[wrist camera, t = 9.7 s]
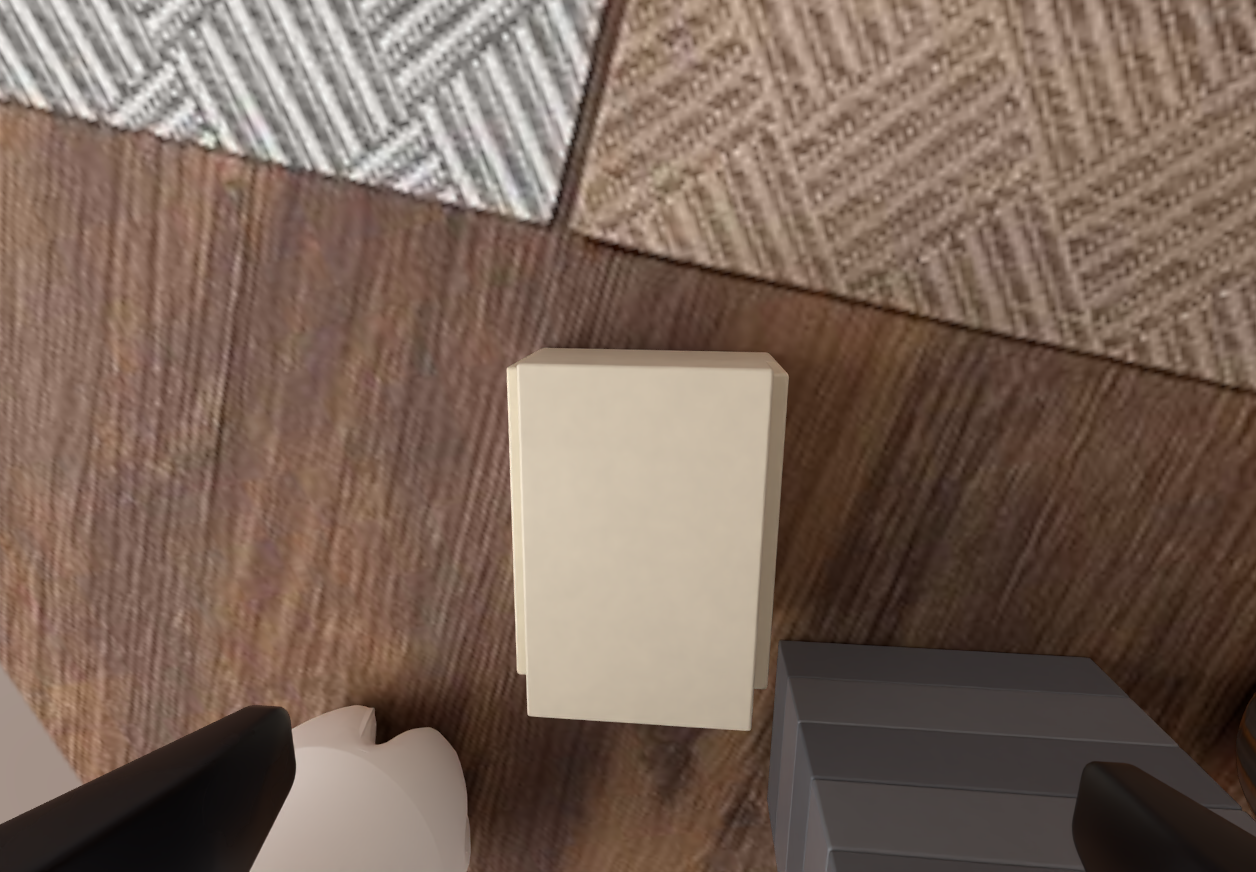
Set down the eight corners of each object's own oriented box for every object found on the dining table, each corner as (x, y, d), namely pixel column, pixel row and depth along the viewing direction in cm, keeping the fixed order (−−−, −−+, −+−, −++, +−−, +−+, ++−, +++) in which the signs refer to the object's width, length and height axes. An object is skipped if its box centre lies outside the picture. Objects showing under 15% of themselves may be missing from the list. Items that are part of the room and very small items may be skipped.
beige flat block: (747, 698, 16) (751, 732, 15) (538, 685, 16) (526, 717, 15) (767, 360, 14) (774, 368, 13) (529, 355, 14) (515, 363, 13)
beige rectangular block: (769, 352, 17) (789, 373, 14) (753, 614, 19) (767, 691, 16) (541, 347, 18) (505, 367, 14) (546, 603, 20) (515, 675, 16)
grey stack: (1090, 656, 19) (1438, 997, 10) (1056, 821, 20) (1338, 1247, 11) (778, 639, 19) (850, 942, 11) (766, 799, 21) (822, 1184, 12)
